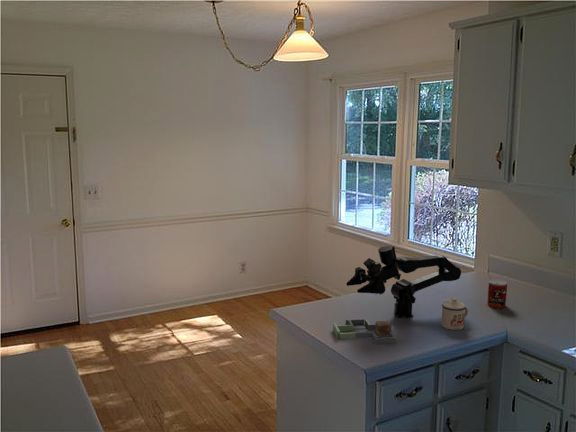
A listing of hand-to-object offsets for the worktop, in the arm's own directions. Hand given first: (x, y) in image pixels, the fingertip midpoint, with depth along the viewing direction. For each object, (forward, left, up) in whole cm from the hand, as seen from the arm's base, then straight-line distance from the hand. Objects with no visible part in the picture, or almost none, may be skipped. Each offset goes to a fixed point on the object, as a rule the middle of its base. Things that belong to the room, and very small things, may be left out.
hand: (351, 287), depth 219 cm
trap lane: (-2, +11, -15) cm, 19 cm away
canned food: (-69, -14, -15) cm, 72 cm away
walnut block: (-10, +11, -15) cm, 21 cm away
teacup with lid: (-41, +7, -15) cm, 44 cm away
